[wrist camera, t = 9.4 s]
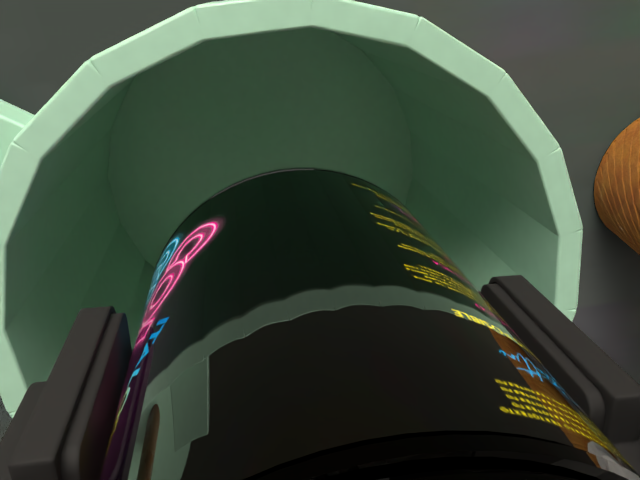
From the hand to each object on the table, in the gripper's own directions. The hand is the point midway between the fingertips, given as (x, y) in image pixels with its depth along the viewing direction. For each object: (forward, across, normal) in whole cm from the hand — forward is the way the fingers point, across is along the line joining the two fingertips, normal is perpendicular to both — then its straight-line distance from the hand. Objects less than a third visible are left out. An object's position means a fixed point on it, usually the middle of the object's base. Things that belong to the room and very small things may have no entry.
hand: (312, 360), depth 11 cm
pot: (+14, 0, 0) cm, 14 cm away
